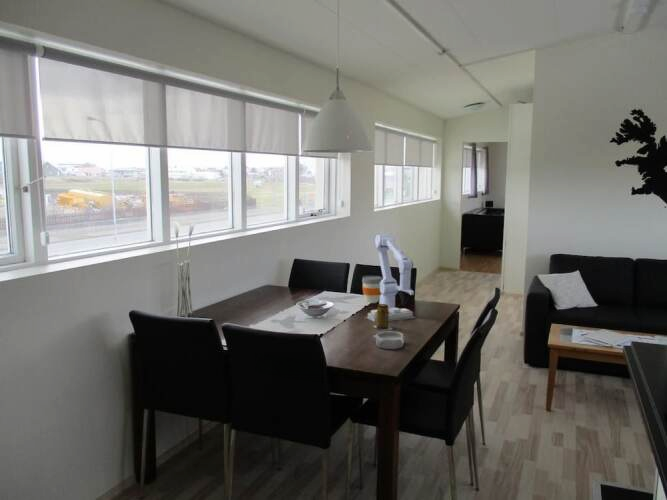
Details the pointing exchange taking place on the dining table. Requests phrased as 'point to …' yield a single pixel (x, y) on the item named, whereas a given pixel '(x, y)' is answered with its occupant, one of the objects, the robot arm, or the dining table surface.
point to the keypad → (392, 316)
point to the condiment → (382, 317)
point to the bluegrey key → (395, 310)
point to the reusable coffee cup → (371, 288)
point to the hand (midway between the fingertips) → (404, 304)
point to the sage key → (374, 312)
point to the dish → (389, 340)
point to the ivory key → (405, 310)
